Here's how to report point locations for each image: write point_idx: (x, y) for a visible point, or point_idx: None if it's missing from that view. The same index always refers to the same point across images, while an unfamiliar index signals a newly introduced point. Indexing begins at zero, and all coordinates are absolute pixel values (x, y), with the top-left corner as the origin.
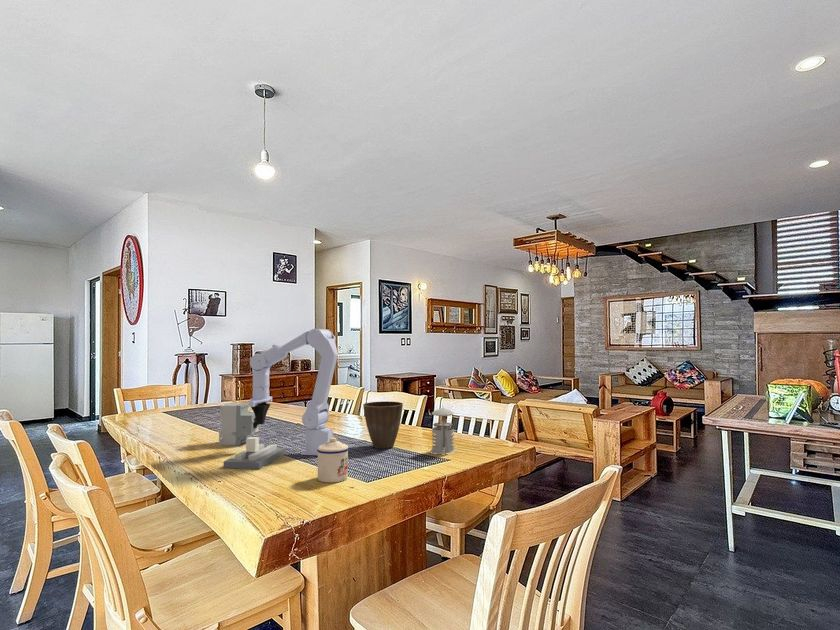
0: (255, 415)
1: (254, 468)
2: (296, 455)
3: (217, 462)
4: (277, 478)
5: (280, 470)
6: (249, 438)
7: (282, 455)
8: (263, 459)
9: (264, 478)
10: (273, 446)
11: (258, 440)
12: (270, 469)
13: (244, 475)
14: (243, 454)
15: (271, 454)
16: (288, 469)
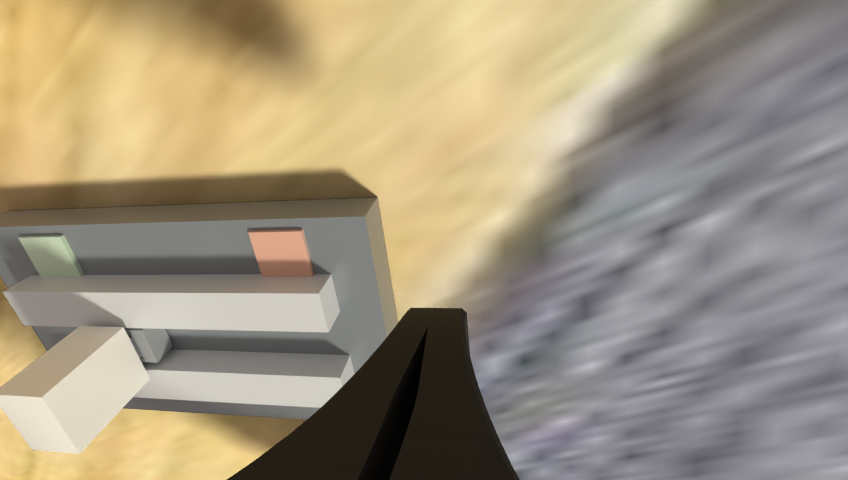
0: (336, 404)
1: None
2: None
3: (50, 90)
4: (70, 470)
5: (145, 454)
6: (10, 412)
7: None
8: (132, 402)
9: None
10: (296, 405)
11: (92, 433)
12: (133, 420)
13: (12, 363)
14: (53, 324)
15: (228, 403)
16: (171, 474)
